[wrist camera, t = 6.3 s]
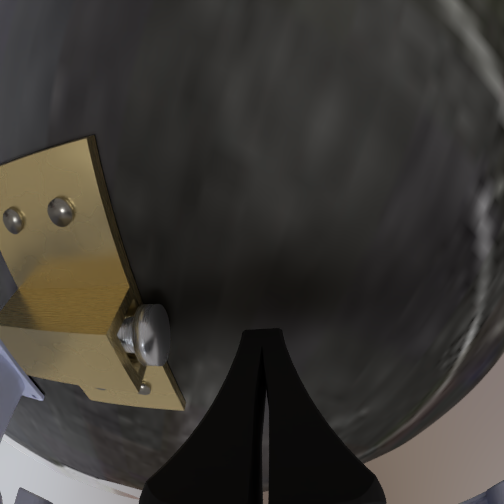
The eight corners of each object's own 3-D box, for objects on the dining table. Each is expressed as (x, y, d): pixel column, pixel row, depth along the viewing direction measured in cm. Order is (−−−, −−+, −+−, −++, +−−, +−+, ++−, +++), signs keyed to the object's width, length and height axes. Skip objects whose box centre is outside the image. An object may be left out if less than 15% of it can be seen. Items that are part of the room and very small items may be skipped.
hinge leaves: (93, 393, 18) (78, 432, 15) (-18, 172, 10) (-67, 203, 7) (185, 402, 18) (177, 448, 15) (94, 134, 10) (39, 162, 7)
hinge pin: (39, 328, 15) (19, 360, 12) (18, 292, 13) (-6, 324, 11) (174, 334, 14) (162, 378, 12) (159, 290, 13) (142, 335, 10)
